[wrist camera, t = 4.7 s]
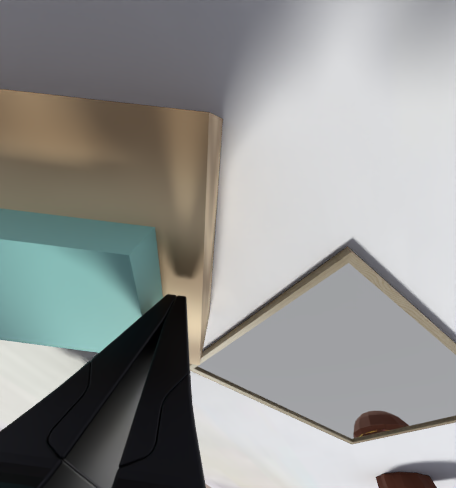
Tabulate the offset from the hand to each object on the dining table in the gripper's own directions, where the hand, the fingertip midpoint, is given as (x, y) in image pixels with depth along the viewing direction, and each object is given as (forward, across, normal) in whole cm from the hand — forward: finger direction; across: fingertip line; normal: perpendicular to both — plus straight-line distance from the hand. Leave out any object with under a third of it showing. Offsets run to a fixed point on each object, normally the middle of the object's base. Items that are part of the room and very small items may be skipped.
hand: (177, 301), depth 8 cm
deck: (+5, +6, 0) cm, 8 cm away
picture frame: (+6, -16, +14) cm, 22 cm away
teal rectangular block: (+1, +6, 0) cm, 6 cm away
